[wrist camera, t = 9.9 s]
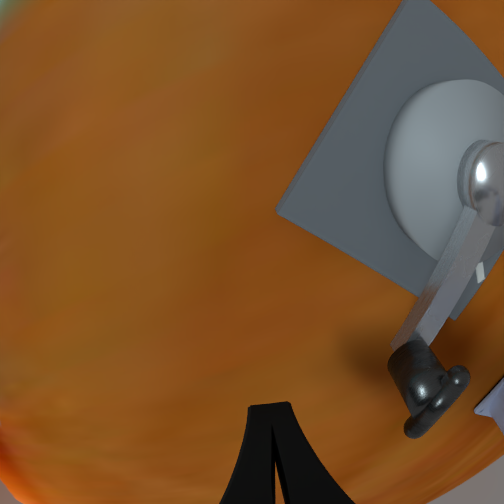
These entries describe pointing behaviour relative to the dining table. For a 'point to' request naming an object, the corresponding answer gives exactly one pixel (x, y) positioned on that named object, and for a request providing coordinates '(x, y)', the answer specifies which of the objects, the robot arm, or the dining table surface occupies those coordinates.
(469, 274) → the crank
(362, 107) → the crank base
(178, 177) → the dining table surface
